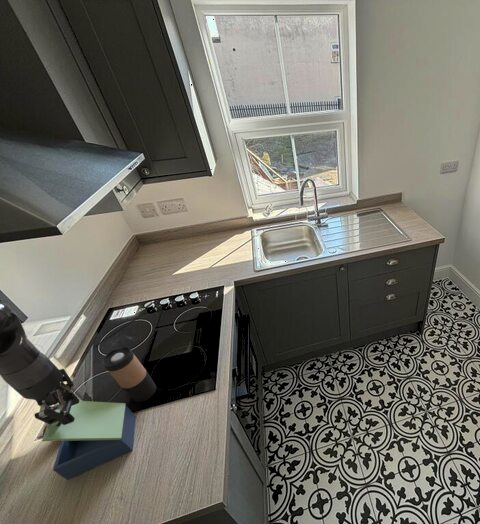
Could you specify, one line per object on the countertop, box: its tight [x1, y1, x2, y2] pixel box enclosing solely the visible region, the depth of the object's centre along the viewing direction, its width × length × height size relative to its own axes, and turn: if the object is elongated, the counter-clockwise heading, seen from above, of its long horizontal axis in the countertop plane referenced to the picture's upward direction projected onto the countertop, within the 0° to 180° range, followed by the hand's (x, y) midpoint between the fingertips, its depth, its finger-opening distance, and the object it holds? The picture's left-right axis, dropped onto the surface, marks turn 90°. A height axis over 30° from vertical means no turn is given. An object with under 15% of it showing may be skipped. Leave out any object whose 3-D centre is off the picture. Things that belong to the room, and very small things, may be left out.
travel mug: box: [101, 346, 157, 403], centre depth 96 cm, size 8×8×20 cm
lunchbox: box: [52, 404, 137, 481], centre depth 86 cm, size 16×12×7 cm
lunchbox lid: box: [41, 399, 127, 442], centre depth 81 cm, size 16×12×5 cm
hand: (72, 412), depth 78 cm, fingers closed on lunchbox lid, 5 cm apart
